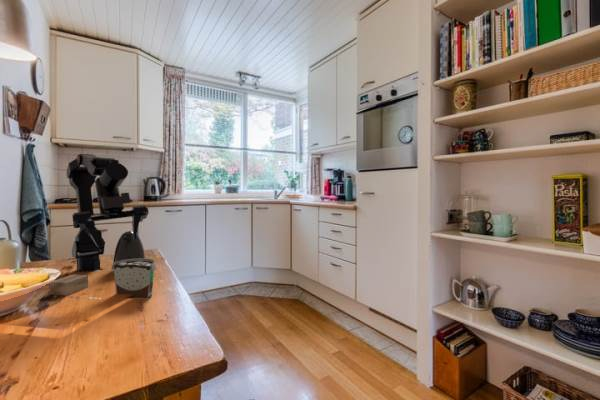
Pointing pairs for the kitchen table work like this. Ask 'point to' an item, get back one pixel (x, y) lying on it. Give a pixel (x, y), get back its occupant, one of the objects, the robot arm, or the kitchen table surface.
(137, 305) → the kitchen table surface
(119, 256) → the dark grey rounded cone
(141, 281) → the food container
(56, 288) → the grey rectangular block
